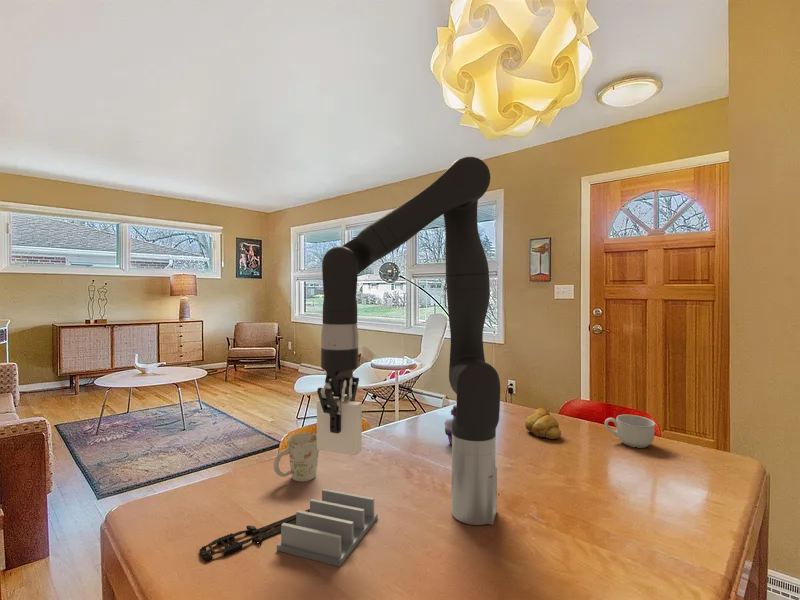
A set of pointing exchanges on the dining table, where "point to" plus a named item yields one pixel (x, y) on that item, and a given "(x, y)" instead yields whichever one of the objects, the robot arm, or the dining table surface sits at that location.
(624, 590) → the dining table surface
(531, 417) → the bread roll
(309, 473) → the mug
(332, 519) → the dish rack
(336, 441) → the cream rectangular block
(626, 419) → the teacup
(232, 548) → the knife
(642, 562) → the dining table surface
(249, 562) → the dining table surface
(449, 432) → the potion bottle
